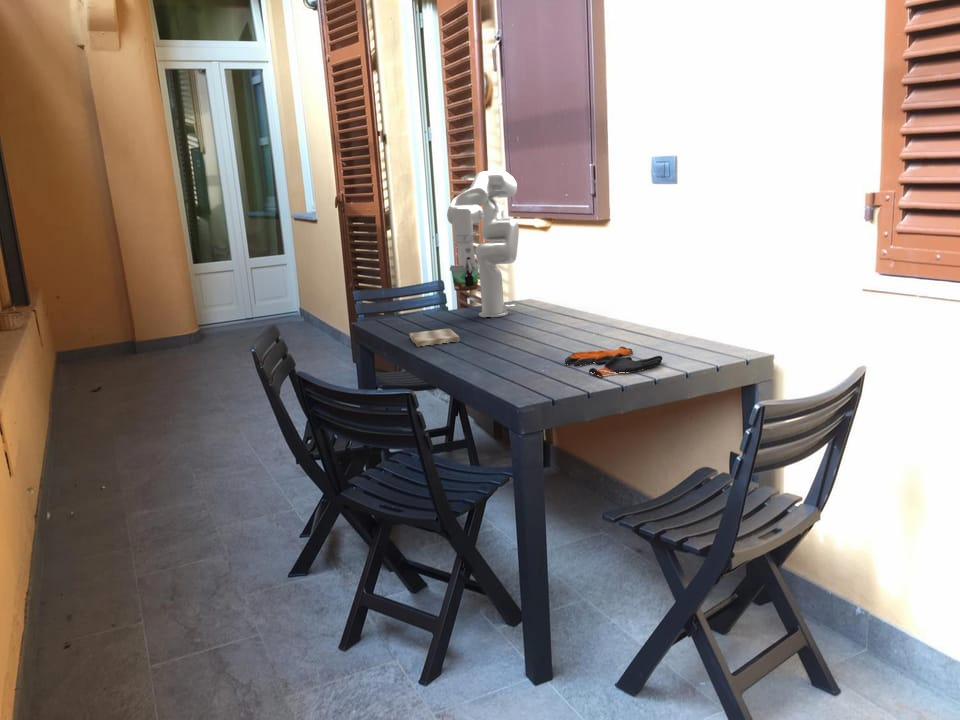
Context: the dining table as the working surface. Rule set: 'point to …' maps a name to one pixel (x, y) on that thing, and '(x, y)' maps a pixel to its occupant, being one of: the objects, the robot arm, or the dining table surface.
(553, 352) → the dining table surface
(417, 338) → the birch board
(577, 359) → the pair of gloves
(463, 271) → the food container
